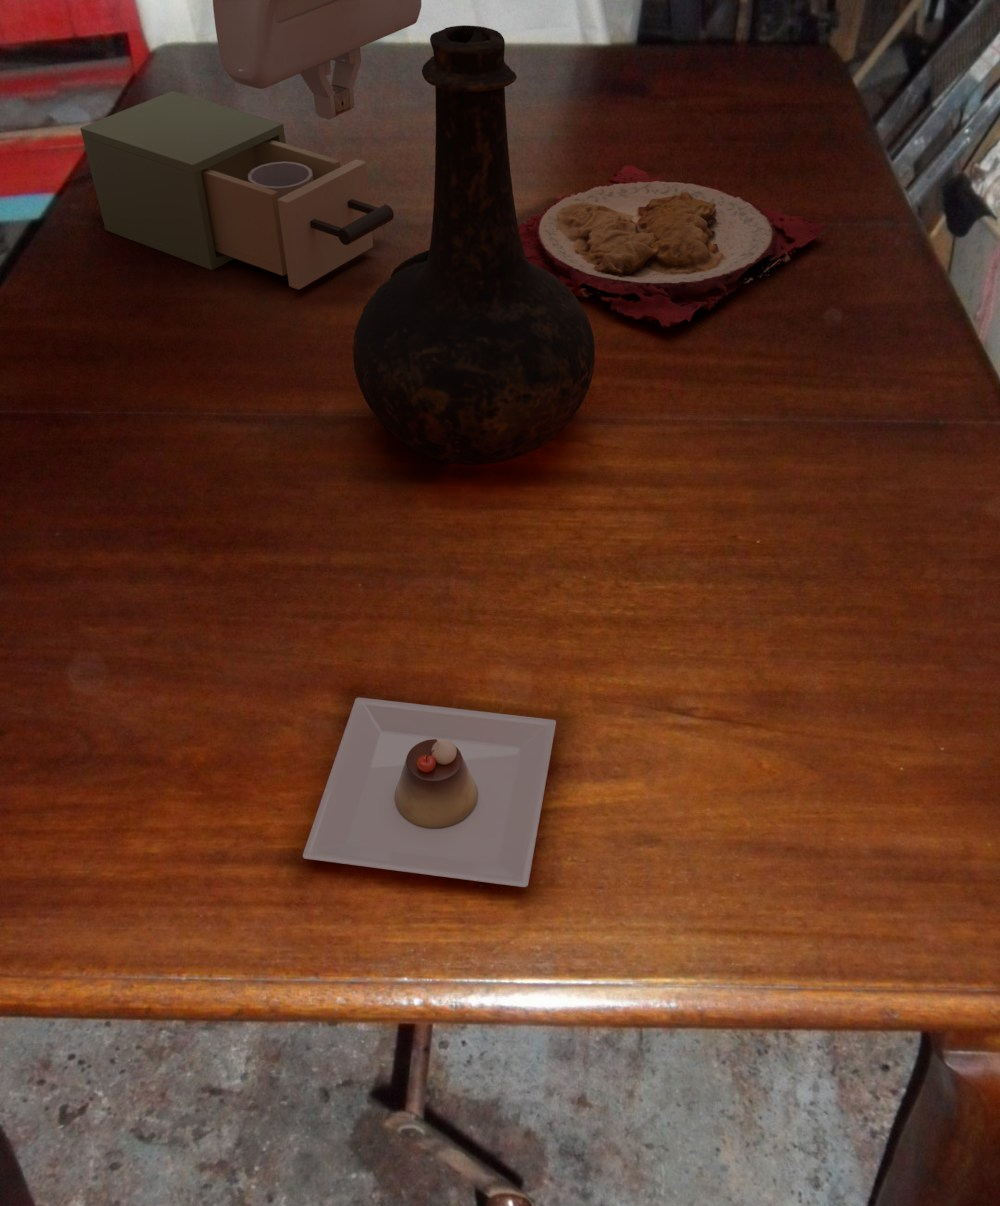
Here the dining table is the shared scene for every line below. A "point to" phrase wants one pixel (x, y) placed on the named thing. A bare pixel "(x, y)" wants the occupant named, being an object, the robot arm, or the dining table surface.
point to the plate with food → (659, 243)
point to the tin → (281, 176)
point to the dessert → (435, 792)
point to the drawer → (292, 213)
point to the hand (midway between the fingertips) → (335, 113)
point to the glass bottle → (473, 292)
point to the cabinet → (167, 169)
